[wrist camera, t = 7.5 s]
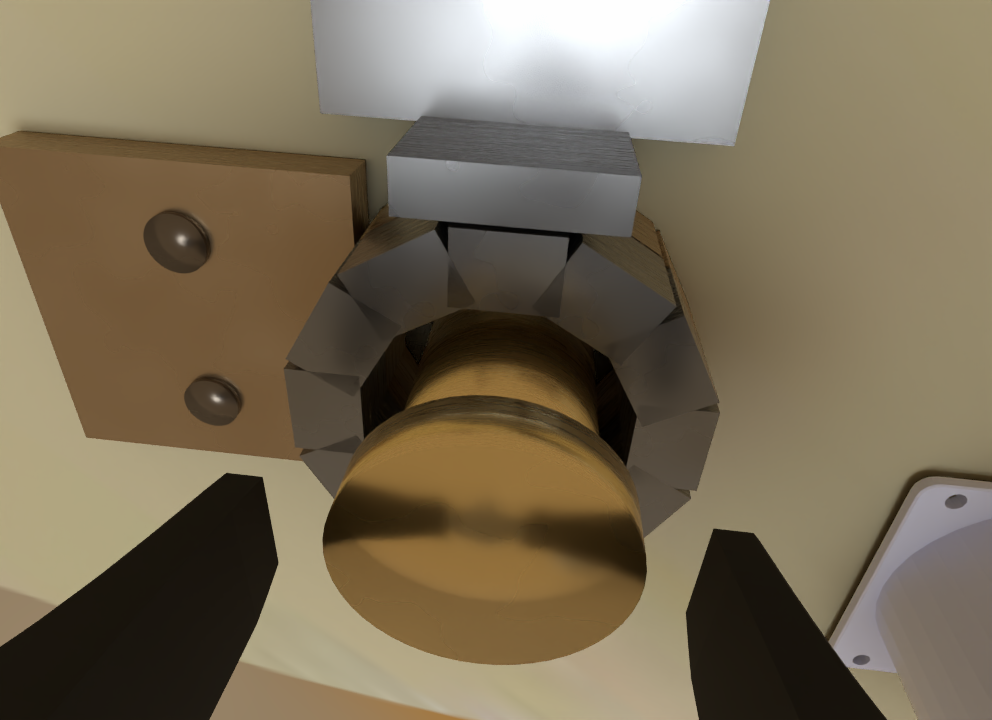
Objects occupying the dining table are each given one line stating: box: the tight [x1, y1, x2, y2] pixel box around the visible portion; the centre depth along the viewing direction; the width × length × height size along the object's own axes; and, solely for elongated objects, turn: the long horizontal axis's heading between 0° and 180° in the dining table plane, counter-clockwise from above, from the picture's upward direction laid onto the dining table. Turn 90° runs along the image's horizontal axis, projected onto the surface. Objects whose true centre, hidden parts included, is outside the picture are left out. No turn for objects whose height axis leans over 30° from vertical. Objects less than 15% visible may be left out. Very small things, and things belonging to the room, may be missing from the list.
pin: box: [323, 309, 647, 665], centre depth 14 cm, size 5×5×7 cm
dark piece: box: [284, 0, 770, 537], centre depth 12 cm, size 8×17×4 cm, turn 177°
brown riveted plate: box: [0, 131, 701, 461], centre depth 16 cm, size 16×8×2 cm, turn 87°
